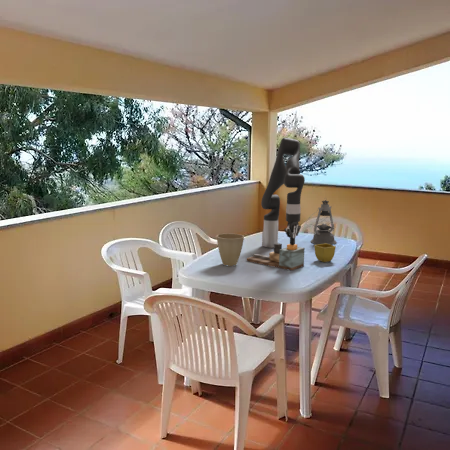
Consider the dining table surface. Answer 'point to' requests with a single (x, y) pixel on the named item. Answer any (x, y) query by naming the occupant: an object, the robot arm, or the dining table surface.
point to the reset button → (292, 247)
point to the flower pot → (324, 252)
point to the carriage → (275, 252)
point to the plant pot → (230, 248)
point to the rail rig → (282, 259)
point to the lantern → (323, 226)
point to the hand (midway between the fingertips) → (292, 244)
